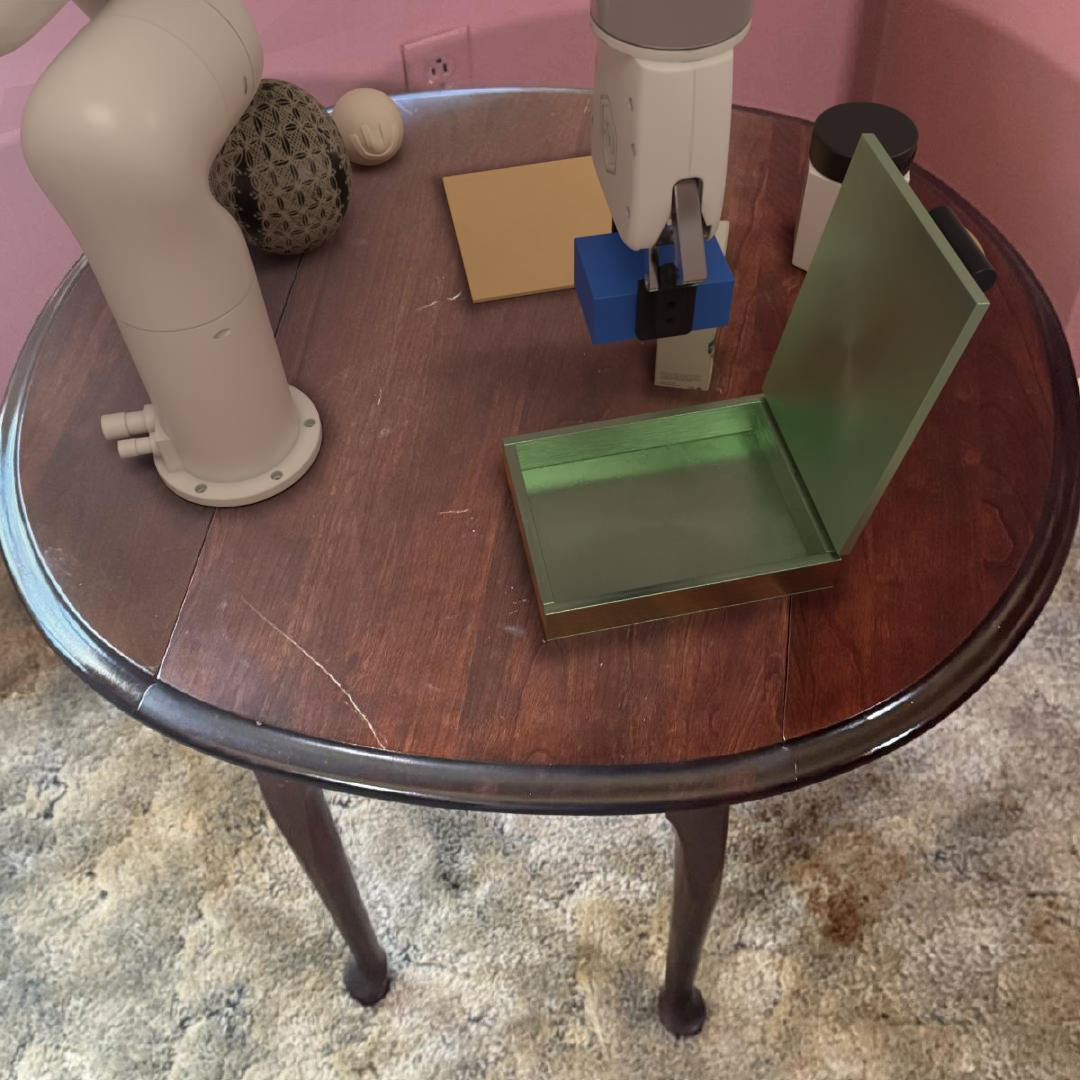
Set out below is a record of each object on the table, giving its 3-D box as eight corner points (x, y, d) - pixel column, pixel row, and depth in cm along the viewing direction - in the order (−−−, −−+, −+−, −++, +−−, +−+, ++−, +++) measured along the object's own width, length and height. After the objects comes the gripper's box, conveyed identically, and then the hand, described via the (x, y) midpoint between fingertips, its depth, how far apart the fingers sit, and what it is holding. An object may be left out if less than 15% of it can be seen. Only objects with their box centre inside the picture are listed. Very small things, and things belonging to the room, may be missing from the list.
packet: (592, 345, 63) (594, 299, 61) (573, 284, 67) (573, 237, 64) (728, 326, 64) (735, 279, 61) (702, 266, 67) (708, 219, 65)
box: (707, 398, 86) (724, 265, 76) (651, 391, 87) (660, 258, 77) (715, 352, 89) (731, 218, 79) (660, 346, 90) (670, 212, 80)
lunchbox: (547, 647, 73) (545, 615, 70) (504, 472, 82) (501, 437, 79) (831, 593, 75) (842, 559, 72) (758, 428, 84) (765, 392, 81)
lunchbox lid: (977, 303, 56) (1059, 302, 57) (861, 132, 65) (934, 133, 66) (838, 556, 71) (904, 550, 72) (760, 388, 81) (821, 385, 82)
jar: (886, 291, 93) (921, 166, 84) (788, 282, 94) (811, 157, 85) (886, 226, 99) (919, 101, 89) (793, 218, 100) (815, 94, 90)
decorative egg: (273, 192, 105) (234, 38, 93) (385, 217, 102) (359, 61, 90) (207, 267, 98) (156, 112, 86) (324, 296, 95) (288, 139, 83)
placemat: (473, 303, 94) (472, 300, 94) (442, 180, 105) (442, 177, 104) (723, 264, 96) (724, 260, 96) (668, 147, 107) (668, 144, 107)
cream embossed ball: (351, 189, 104) (338, 125, 99) (329, 148, 109) (316, 85, 103) (418, 171, 106) (410, 106, 101) (394, 131, 110) (385, 68, 105)
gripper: (555, -85, 55) (558, 218, 70) (635, 100, 45) (620, 412, 60) (701, -101, 56) (674, 203, 71) (812, 78, 46) (755, 391, 60)
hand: (649, 296), depth 65 cm, fingers closed on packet, 5 cm apart
